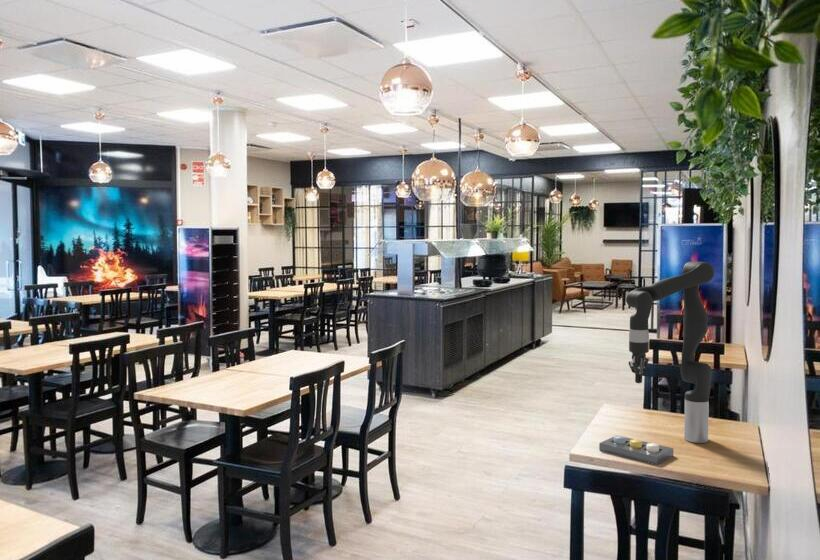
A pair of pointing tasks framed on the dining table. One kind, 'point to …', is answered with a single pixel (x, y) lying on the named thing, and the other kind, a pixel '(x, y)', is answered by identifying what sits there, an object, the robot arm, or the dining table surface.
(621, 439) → the button blue
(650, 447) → the button ivory
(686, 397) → the robot arm
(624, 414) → the dining table surface
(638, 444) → the button mustard
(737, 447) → the dining table surface
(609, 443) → the panel
